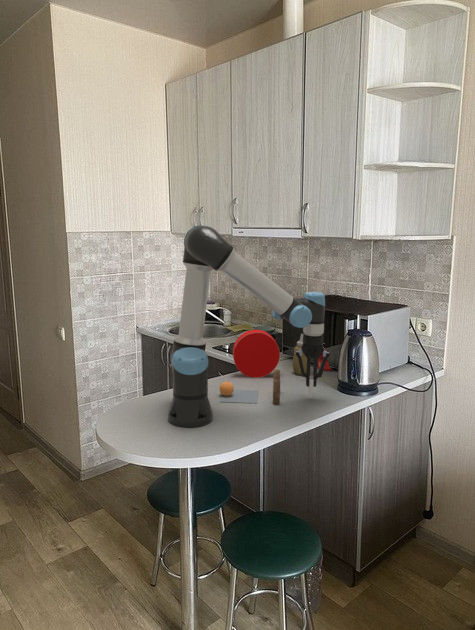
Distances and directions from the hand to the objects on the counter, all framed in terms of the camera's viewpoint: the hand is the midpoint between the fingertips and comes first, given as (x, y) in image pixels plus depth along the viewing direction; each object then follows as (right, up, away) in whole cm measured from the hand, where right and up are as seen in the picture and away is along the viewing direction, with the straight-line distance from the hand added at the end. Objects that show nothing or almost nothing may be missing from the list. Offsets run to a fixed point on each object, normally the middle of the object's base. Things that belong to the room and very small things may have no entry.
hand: (310, 394), depth 189 cm
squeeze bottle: (0, +4, +33) cm, 33 cm away
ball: (-32, +2, +2) cm, 32 cm away
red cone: (+13, +5, +41) cm, 43 cm away
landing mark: (-27, -1, +2) cm, 27 cm away
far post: (-13, 0, +7) cm, 15 cm away
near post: (-13, -3, -5) cm, 15 cm away
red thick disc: (-20, +3, +29) cm, 35 cm away
